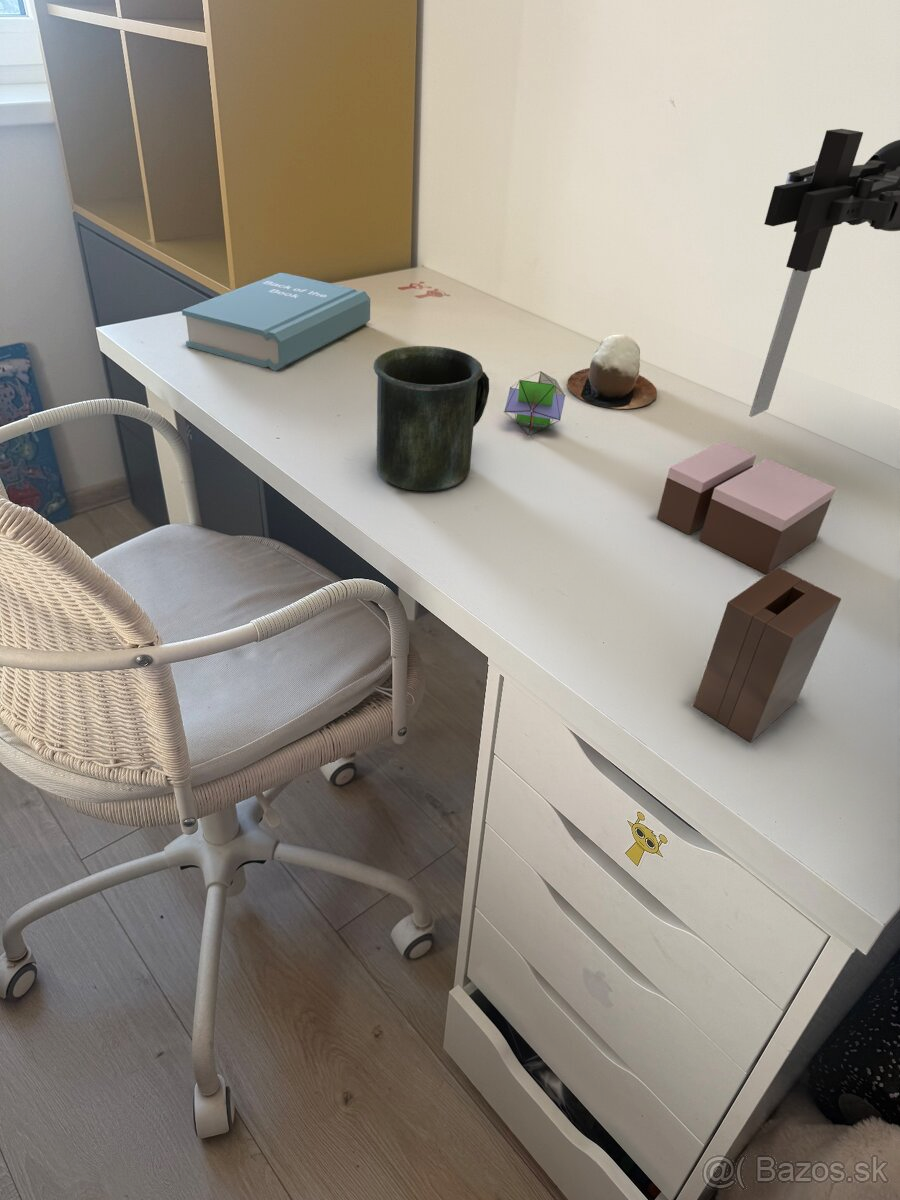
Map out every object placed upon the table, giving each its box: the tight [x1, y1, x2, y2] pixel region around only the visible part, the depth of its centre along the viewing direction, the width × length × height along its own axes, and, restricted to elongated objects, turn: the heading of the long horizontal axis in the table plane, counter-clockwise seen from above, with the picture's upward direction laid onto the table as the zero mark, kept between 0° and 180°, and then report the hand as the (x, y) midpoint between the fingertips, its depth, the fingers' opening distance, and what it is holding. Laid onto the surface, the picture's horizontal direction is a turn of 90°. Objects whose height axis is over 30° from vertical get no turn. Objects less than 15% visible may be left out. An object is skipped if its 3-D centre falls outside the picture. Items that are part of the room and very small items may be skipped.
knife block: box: [693, 566, 842, 743], centre depth 61 cm, size 5×7×10 cm
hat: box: [566, 334, 658, 410], centre depth 111 cm, size 12×10×10 cm
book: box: [181, 272, 371, 371], centre depth 119 cm, size 23×16×5 cm
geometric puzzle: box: [503, 370, 567, 437], centre depth 99 cm, size 7×7×8 cm
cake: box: [699, 458, 837, 575], centre depth 82 cm, size 8×10×6 cm
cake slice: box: [656, 440, 757, 536], centre depth 86 cm, size 4×10×6 cm, turn 133°
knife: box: [748, 128, 864, 418], centre depth 70 cm, size 2×3×23 cm, turn 133°
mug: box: [372, 345, 490, 492], centre depth 88 cm, size 11×15×12 cm
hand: (788, 210), depth 63 cm, fingers closed on knife, 2 cm apart
